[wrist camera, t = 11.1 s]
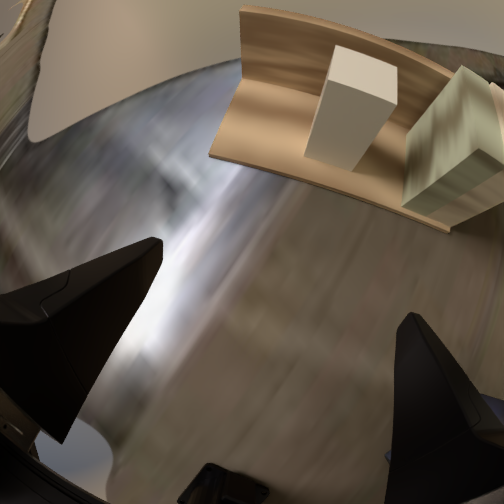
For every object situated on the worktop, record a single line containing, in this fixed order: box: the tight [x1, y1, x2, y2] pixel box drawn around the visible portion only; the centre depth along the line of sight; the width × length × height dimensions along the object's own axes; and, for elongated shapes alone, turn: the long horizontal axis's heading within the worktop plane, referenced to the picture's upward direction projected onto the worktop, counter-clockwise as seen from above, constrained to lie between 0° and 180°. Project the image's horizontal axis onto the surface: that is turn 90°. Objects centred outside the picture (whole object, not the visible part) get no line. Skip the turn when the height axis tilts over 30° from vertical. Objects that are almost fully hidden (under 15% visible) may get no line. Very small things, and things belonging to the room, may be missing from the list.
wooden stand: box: [208, 5, 504, 234], centre depth 19 cm, size 11×24×13 cm, turn 73°
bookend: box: [304, 45, 397, 172], centre depth 20 cm, size 4×4×10 cm
